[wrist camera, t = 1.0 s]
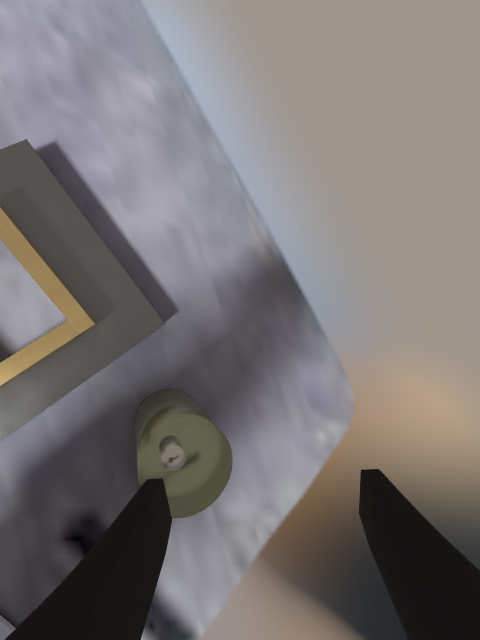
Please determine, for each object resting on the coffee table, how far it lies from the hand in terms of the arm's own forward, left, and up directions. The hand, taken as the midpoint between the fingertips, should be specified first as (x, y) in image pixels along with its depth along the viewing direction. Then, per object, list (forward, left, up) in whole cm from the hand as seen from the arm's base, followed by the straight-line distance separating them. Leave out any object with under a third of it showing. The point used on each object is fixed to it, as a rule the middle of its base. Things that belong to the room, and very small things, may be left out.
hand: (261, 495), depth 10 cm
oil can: (-2, +1, -12) cm, 13 cm away
